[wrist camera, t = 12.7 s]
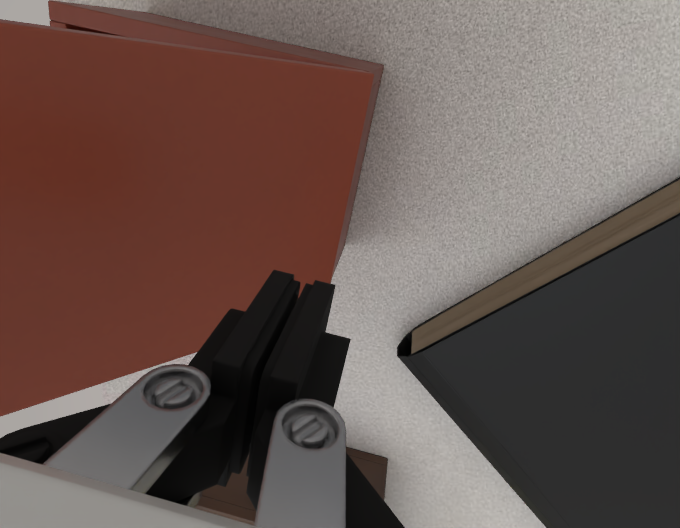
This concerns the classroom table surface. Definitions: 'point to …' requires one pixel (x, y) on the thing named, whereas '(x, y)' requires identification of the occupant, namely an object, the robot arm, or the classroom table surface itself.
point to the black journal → (574, 372)
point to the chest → (218, 39)
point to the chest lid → (155, 196)
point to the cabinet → (240, 507)
